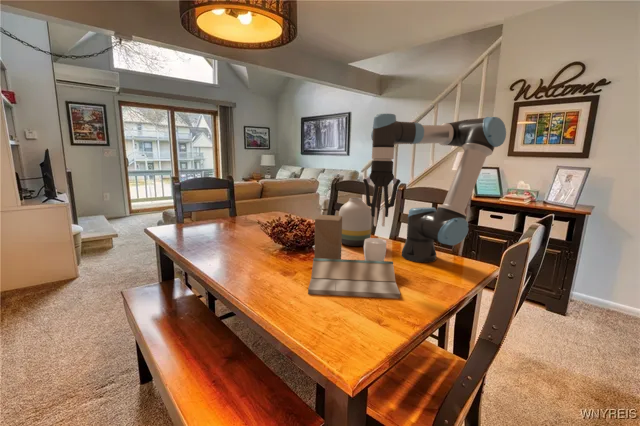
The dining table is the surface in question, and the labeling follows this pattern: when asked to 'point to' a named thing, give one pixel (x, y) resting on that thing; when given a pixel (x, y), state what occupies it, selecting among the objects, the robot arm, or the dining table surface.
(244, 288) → the dining table surface
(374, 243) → the cup
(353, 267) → the plank
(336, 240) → the wooden block
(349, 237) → the vase
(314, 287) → the laid row
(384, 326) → the dining table surface
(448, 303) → the dining table surface
